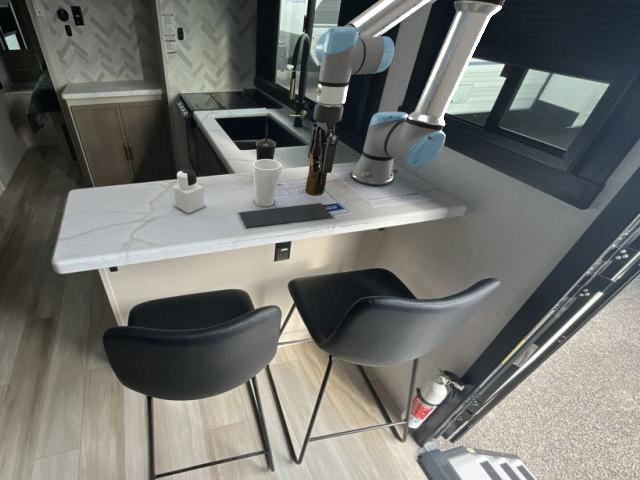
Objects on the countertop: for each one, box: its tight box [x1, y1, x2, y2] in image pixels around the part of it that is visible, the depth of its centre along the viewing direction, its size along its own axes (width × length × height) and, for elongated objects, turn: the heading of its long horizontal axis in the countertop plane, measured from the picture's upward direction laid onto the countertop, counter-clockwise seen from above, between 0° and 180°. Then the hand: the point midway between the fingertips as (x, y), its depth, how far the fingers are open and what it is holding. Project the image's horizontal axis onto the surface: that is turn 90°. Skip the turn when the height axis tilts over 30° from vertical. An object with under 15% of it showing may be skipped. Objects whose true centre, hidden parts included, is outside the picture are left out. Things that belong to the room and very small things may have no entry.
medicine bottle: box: [172, 168, 205, 214], centre depth 106 cm, size 7×7×12 cm
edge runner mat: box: [238, 202, 333, 229], centre depth 106 cm, size 29×10×1 cm, turn 104°
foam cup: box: [251, 159, 283, 207], centre depth 108 cm, size 10×9×13 cm
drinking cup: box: [254, 123, 277, 161], centre depth 119 cm, size 8×8×20 cm
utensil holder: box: [304, 153, 327, 197], centre depth 97 cm, size 6×6×12 cm
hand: (314, 188), depth 101 cm, fingers closed on utensil holder, 6 cm apart
